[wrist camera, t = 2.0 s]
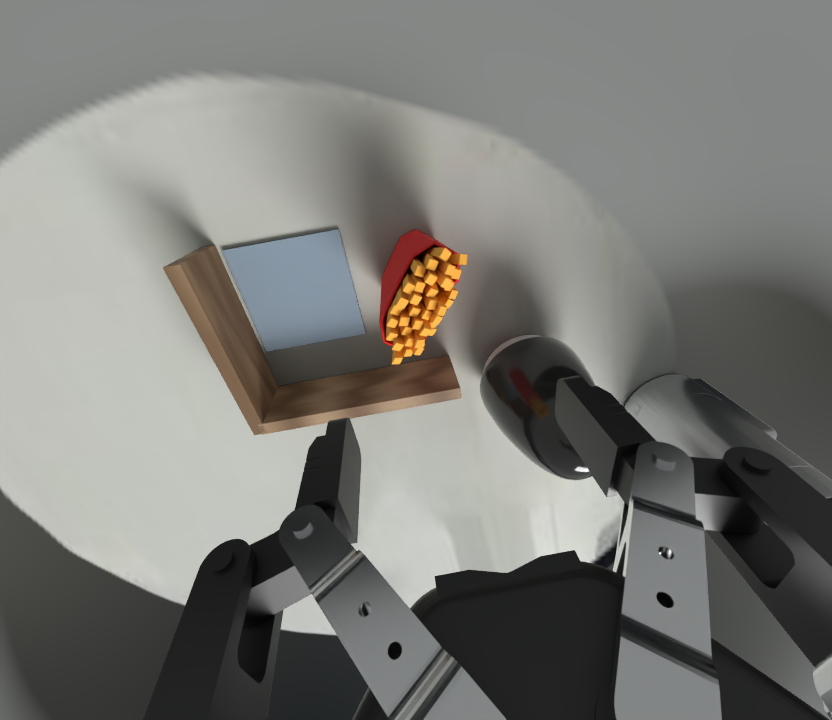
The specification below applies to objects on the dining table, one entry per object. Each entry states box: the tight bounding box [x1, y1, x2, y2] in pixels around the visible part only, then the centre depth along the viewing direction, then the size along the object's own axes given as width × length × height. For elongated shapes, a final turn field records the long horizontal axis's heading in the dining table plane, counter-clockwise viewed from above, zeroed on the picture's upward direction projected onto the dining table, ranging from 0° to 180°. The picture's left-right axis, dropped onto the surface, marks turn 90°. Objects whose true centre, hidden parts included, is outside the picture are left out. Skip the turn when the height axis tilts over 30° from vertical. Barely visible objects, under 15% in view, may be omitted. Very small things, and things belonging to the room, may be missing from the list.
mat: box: [222, 229, 366, 352], centre depth 32 cm, size 10×10×1 cm
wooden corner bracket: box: [163, 245, 461, 435], centre depth 31 cm, size 20×16×6 cm
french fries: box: [380, 229, 467, 364], centre depth 26 cm, size 8×4×12 cm, turn 153°
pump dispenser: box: [480, 335, 596, 480], centre depth 32 cm, size 10×10×15 cm
